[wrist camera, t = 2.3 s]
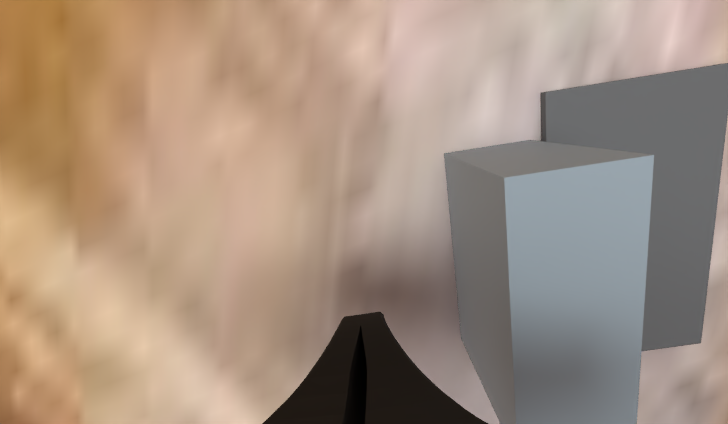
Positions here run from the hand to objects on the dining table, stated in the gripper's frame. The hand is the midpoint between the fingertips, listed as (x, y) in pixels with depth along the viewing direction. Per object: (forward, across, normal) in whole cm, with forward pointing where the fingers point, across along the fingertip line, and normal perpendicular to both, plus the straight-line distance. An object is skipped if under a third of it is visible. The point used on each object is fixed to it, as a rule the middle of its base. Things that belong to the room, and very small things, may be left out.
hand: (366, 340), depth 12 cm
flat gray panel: (+6, -13, 0) cm, 14 cm away
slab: (+6, -6, 0) cm, 9 cm away
